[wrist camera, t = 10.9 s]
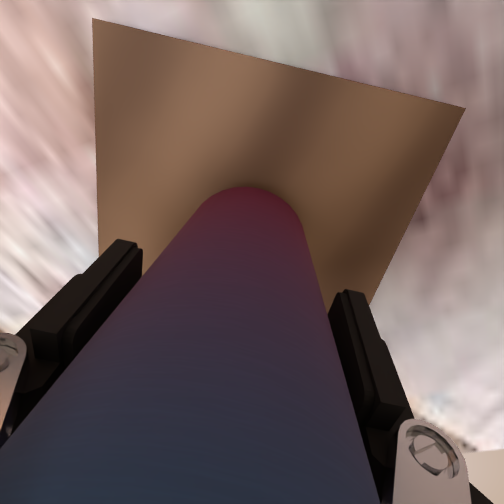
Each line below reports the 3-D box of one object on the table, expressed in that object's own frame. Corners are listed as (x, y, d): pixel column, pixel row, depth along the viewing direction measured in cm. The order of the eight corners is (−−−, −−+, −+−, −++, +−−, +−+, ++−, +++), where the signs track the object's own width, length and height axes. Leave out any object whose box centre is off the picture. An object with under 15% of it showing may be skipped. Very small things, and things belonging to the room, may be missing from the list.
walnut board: (451, 105, 13) (465, 108, 12) (336, 349, 20) (339, 364, 19) (107, 22, 13) (92, 17, 12) (110, 301, 20) (100, 314, 18)
